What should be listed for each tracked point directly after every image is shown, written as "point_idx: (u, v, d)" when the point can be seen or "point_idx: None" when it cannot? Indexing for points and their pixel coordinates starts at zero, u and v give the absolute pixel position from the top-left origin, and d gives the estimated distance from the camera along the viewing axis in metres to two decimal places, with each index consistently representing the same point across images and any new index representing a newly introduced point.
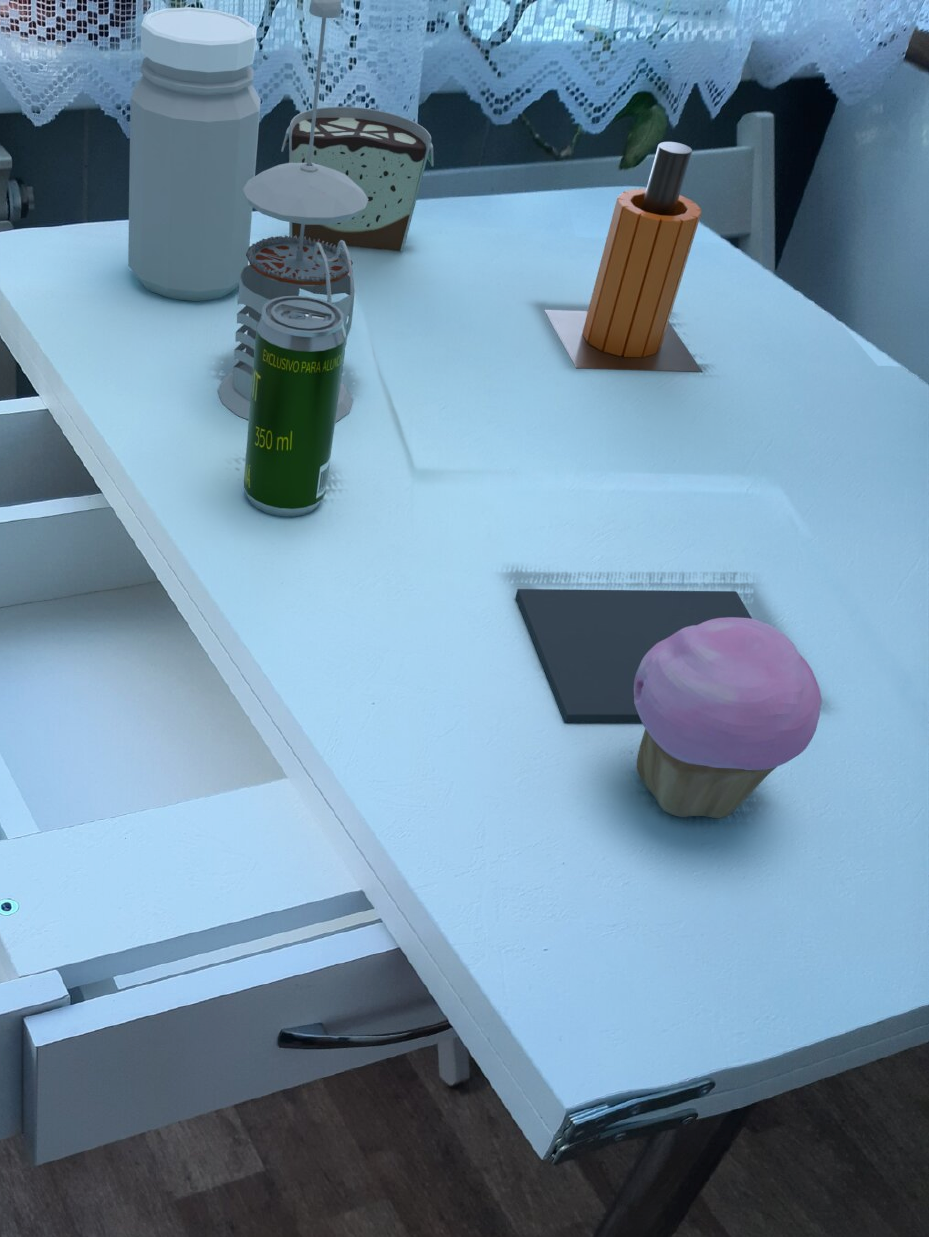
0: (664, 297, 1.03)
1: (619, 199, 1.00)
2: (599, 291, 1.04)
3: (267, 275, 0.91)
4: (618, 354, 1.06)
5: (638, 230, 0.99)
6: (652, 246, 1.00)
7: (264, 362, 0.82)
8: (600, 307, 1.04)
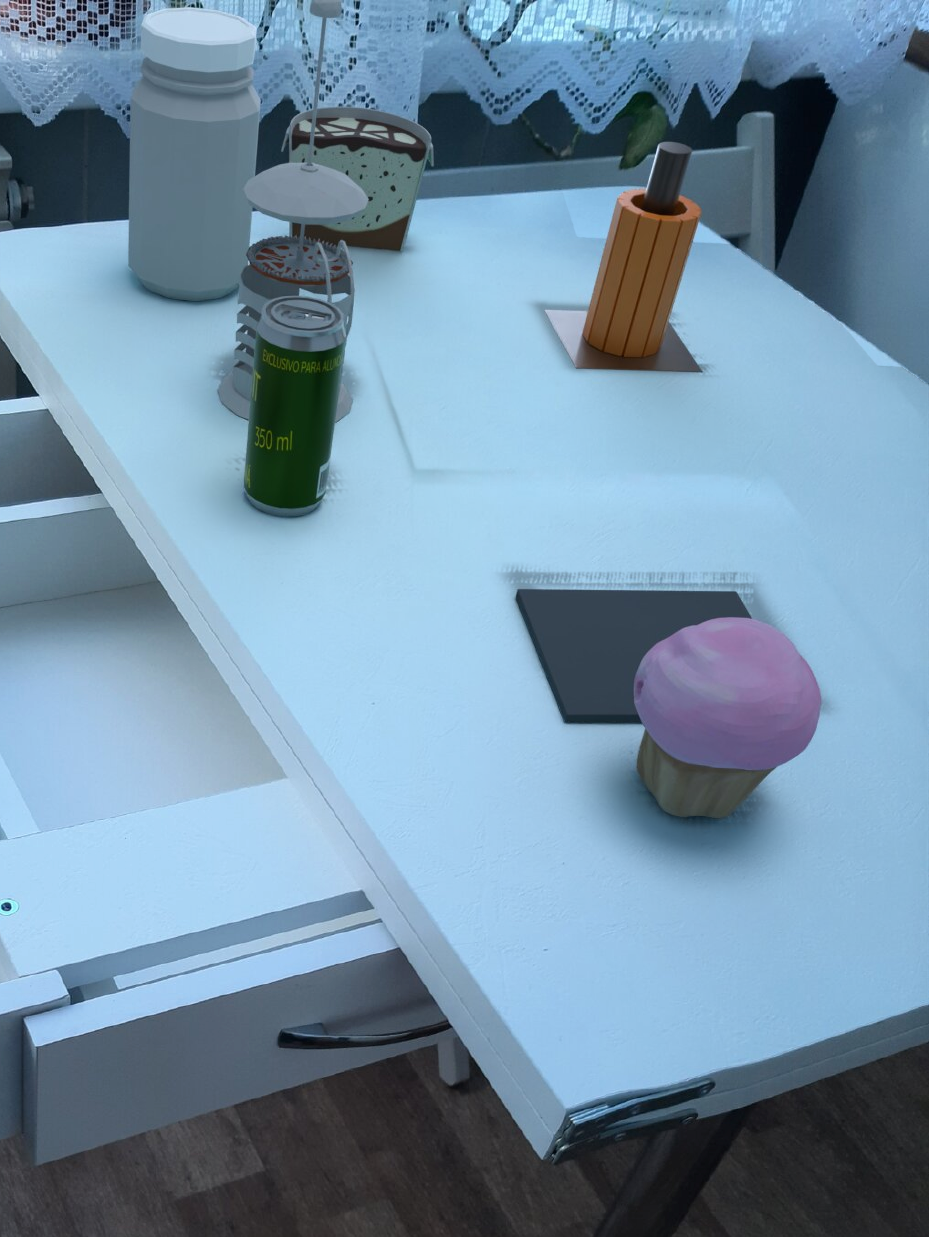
0: (664, 297, 1.03)
1: (619, 199, 1.00)
2: (599, 291, 1.04)
3: (267, 275, 0.91)
4: (618, 354, 1.06)
5: (638, 230, 0.99)
6: (652, 246, 1.00)
7: (264, 361, 0.82)
8: (600, 307, 1.04)
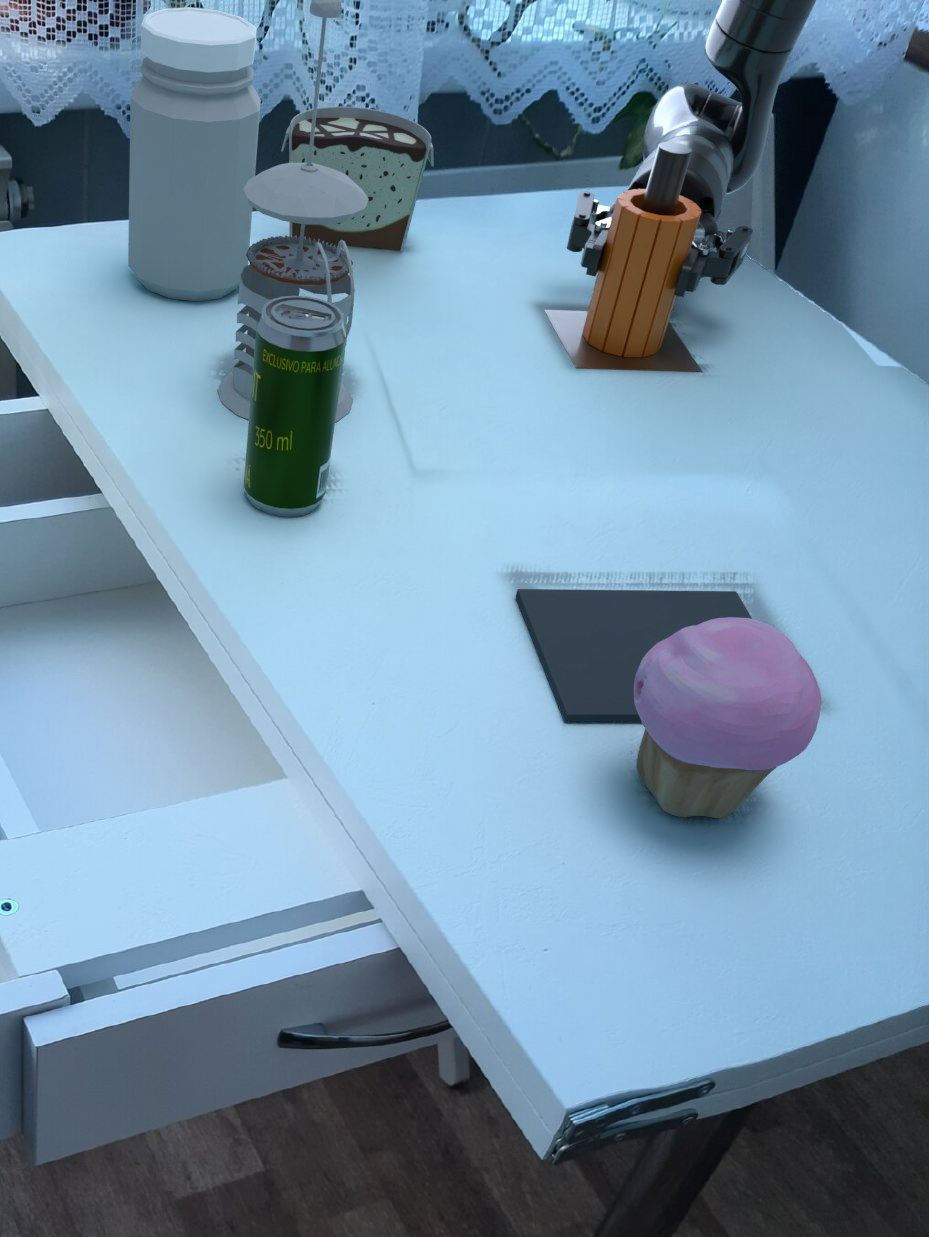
0: (664, 297, 1.03)
1: (619, 199, 1.00)
2: (599, 291, 1.04)
3: (267, 275, 0.91)
4: (618, 354, 1.05)
5: (638, 230, 0.99)
6: (652, 246, 1.00)
7: (264, 362, 0.82)
8: (600, 307, 1.04)
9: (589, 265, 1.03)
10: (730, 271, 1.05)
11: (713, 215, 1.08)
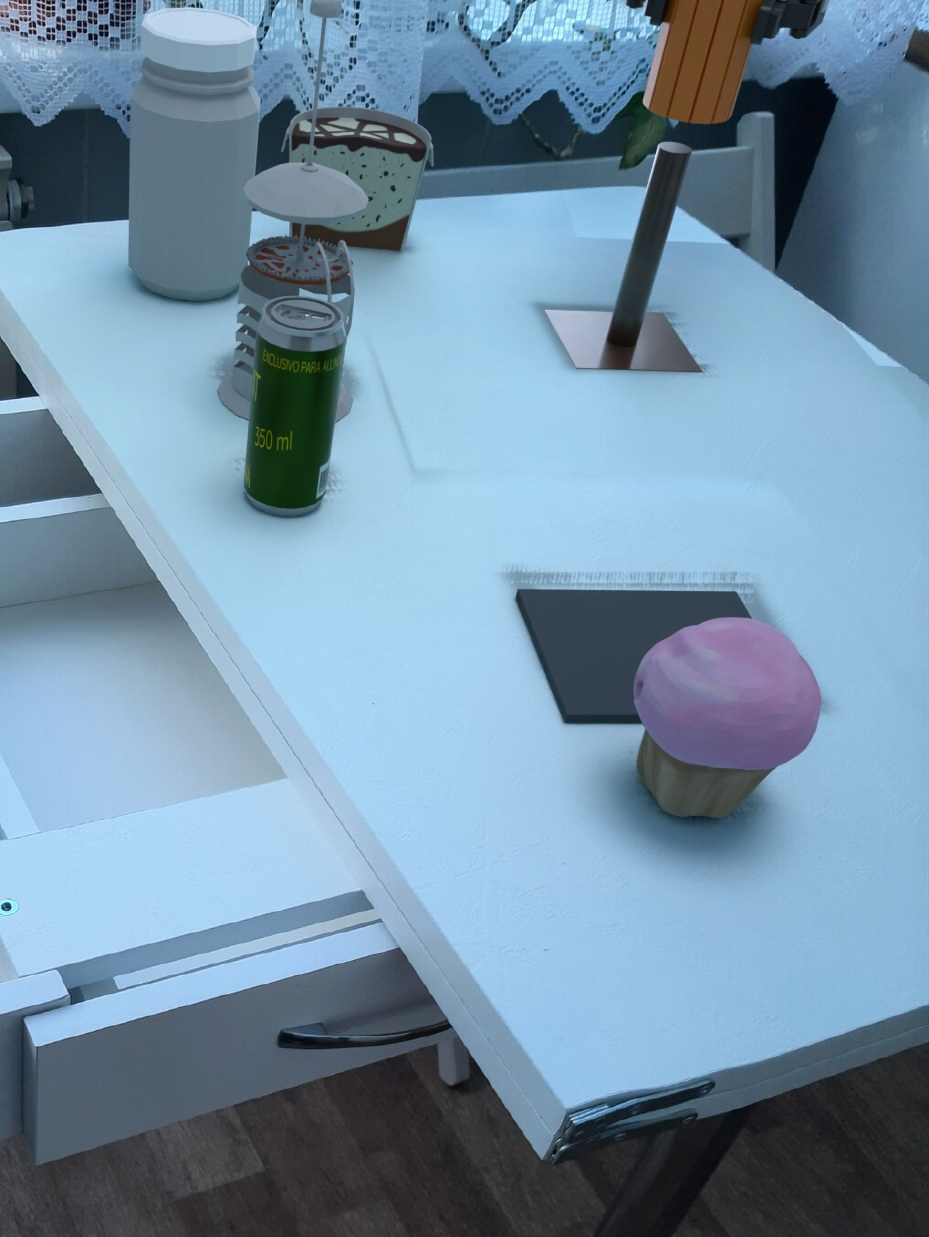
0: (738, 48, 0.91)
1: None
2: (663, 45, 0.92)
3: (267, 275, 0.91)
4: (684, 120, 0.94)
5: None
6: None
7: (264, 362, 0.82)
8: (664, 64, 0.93)
9: (653, 12, 0.91)
10: (811, 25, 0.93)
11: None
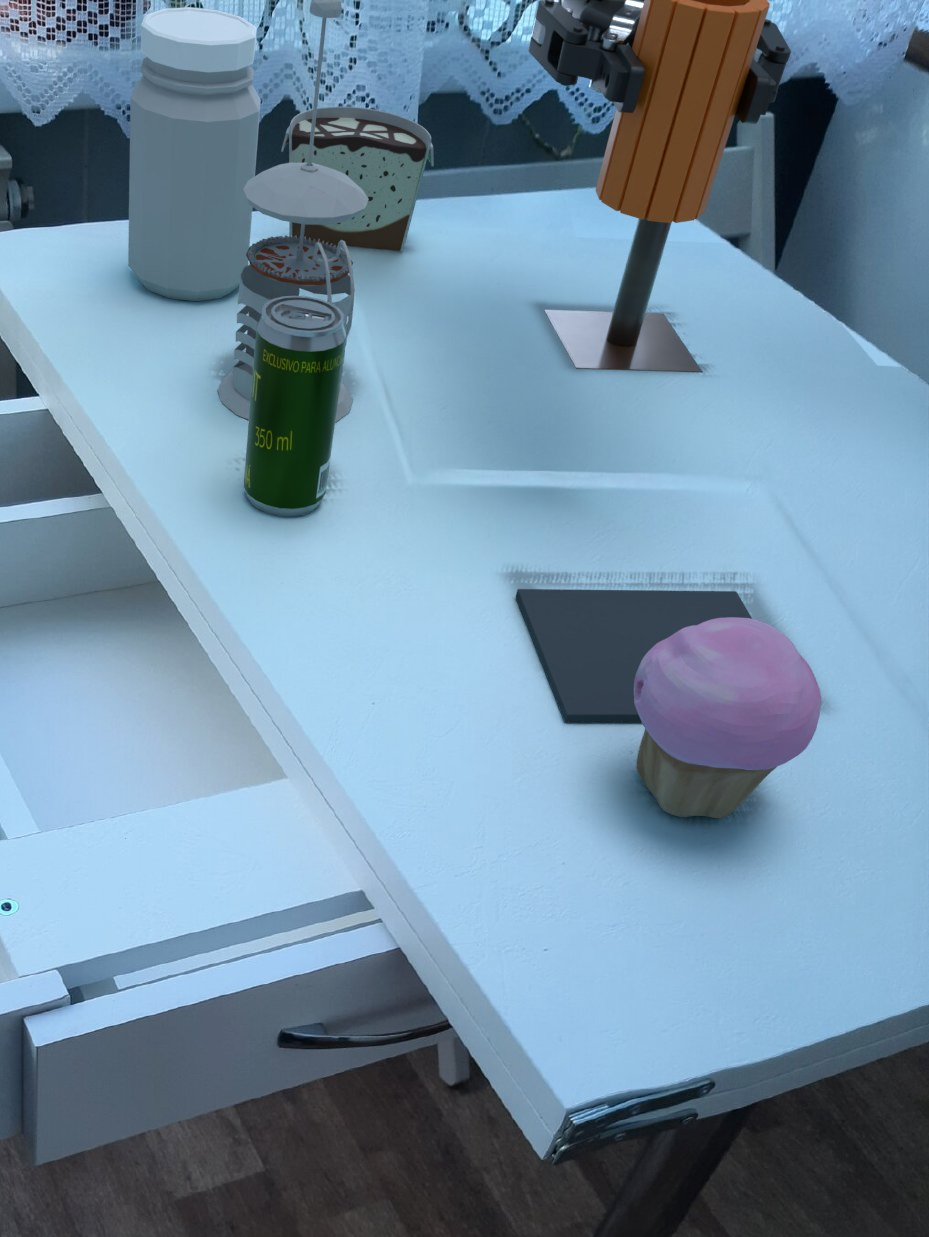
0: (726, 129, 0.73)
1: None
2: (635, 134, 0.73)
3: (267, 275, 0.91)
4: (668, 220, 0.75)
5: (703, 33, 0.69)
6: None
7: (264, 362, 0.82)
8: (639, 157, 0.73)
9: (627, 97, 0.71)
10: None
11: None
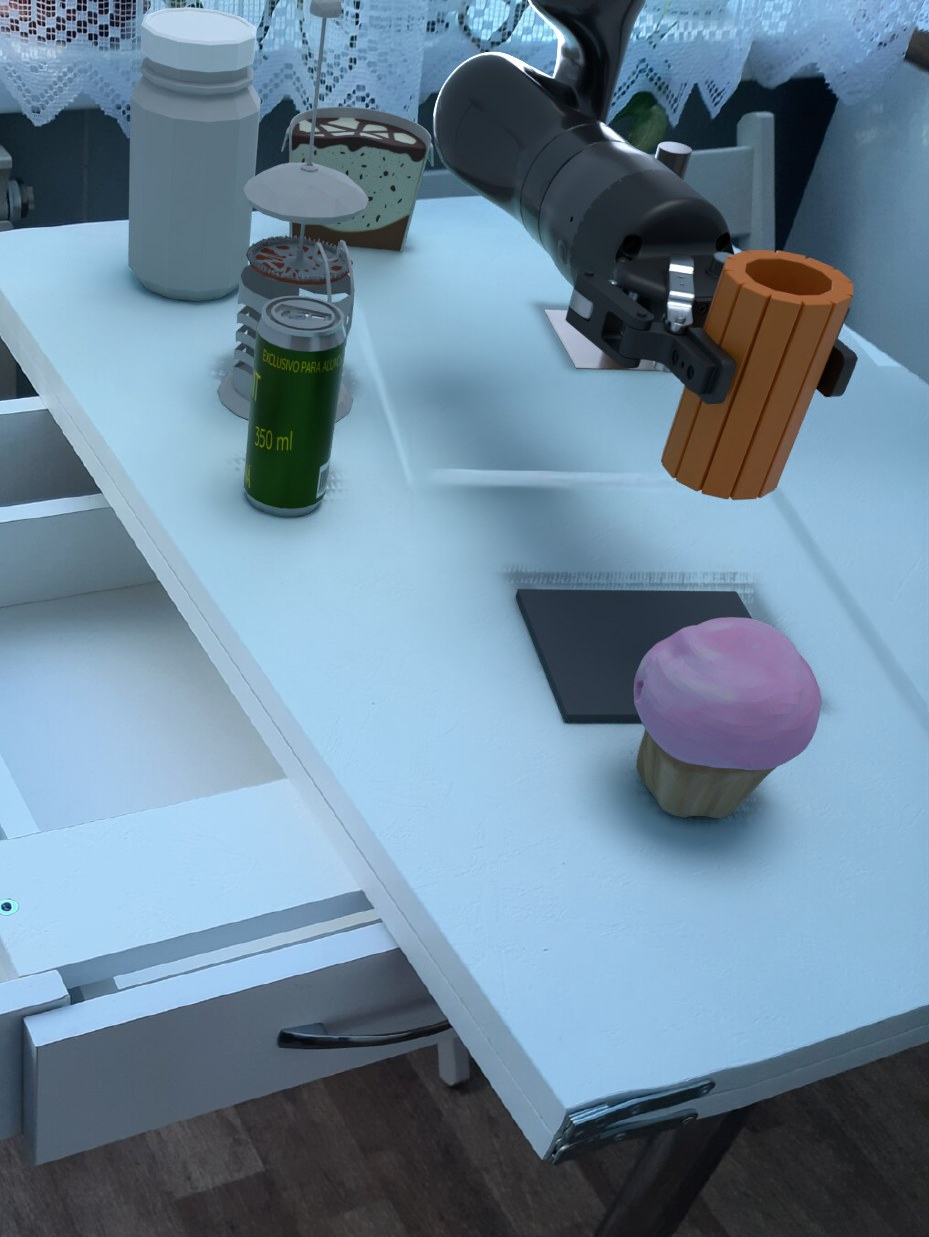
0: (809, 403, 0.68)
1: (744, 284, 0.64)
2: (719, 420, 0.68)
3: (267, 275, 0.91)
4: (753, 497, 0.70)
5: (800, 326, 0.64)
6: None
7: (264, 362, 0.82)
8: (724, 442, 0.68)
9: (717, 391, 0.66)
10: None
11: None
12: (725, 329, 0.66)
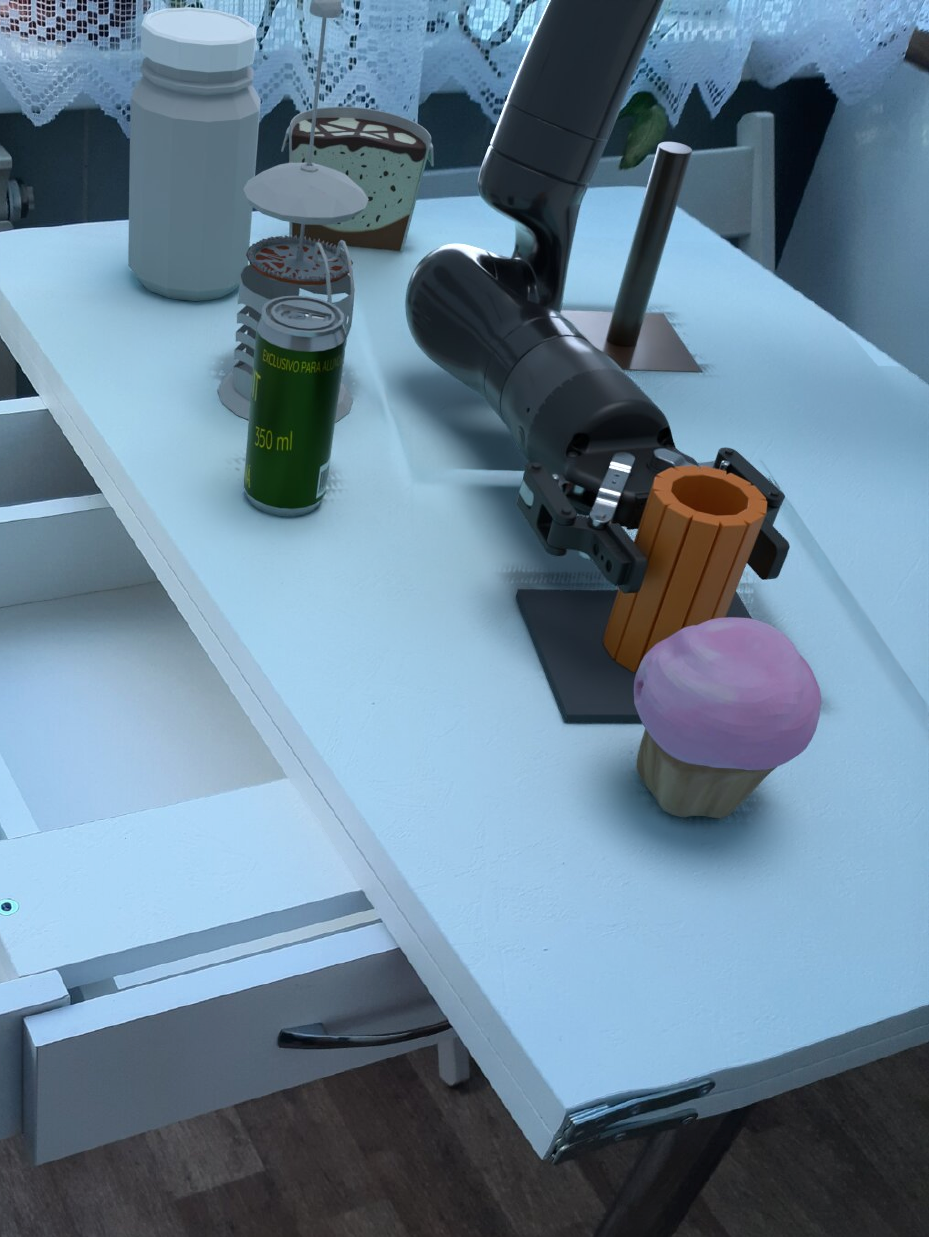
0: (732, 598, 0.77)
1: (669, 505, 0.72)
2: (651, 615, 0.76)
3: (267, 275, 0.91)
4: None
5: (719, 542, 0.72)
6: None
7: (264, 362, 0.82)
8: (656, 633, 0.77)
9: (632, 584, 0.74)
10: None
11: (672, 445, 0.82)
12: (654, 540, 0.74)
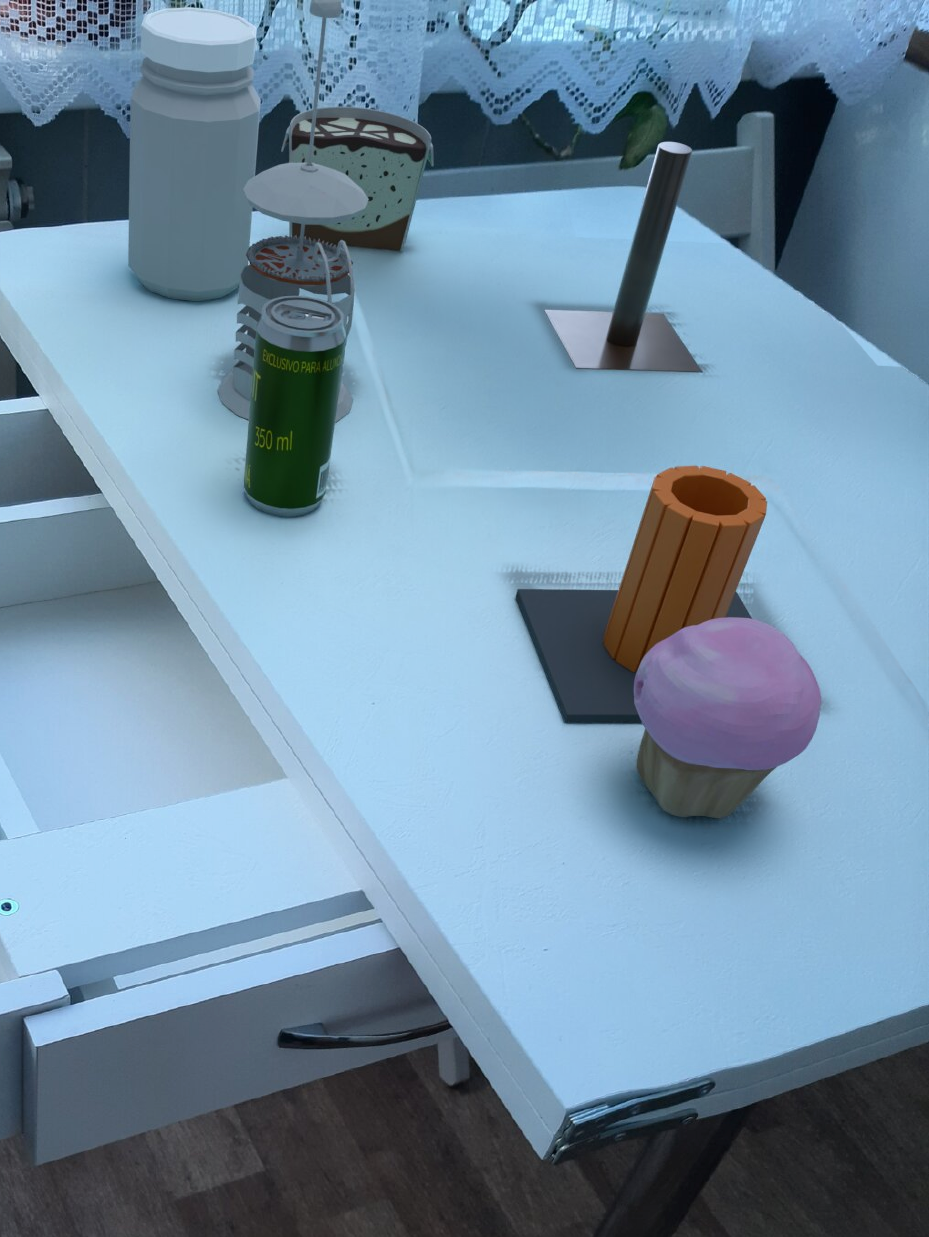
0: (732, 598, 0.77)
1: (669, 505, 0.72)
2: (651, 615, 0.76)
3: (267, 275, 0.91)
4: None
5: (719, 542, 0.72)
6: None
7: (263, 361, 0.82)
8: (656, 633, 0.77)
9: None
10: None
11: None
12: (654, 540, 0.74)
